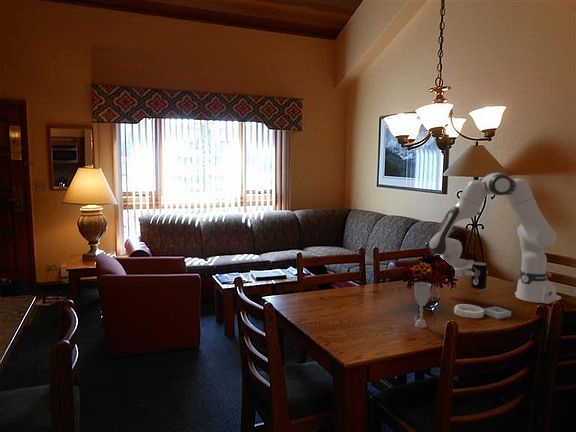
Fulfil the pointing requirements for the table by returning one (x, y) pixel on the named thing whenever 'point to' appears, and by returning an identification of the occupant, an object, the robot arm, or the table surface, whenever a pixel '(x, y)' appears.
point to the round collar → (469, 311)
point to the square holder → (497, 312)
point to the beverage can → (479, 275)
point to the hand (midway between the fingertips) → (480, 273)
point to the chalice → (422, 300)
